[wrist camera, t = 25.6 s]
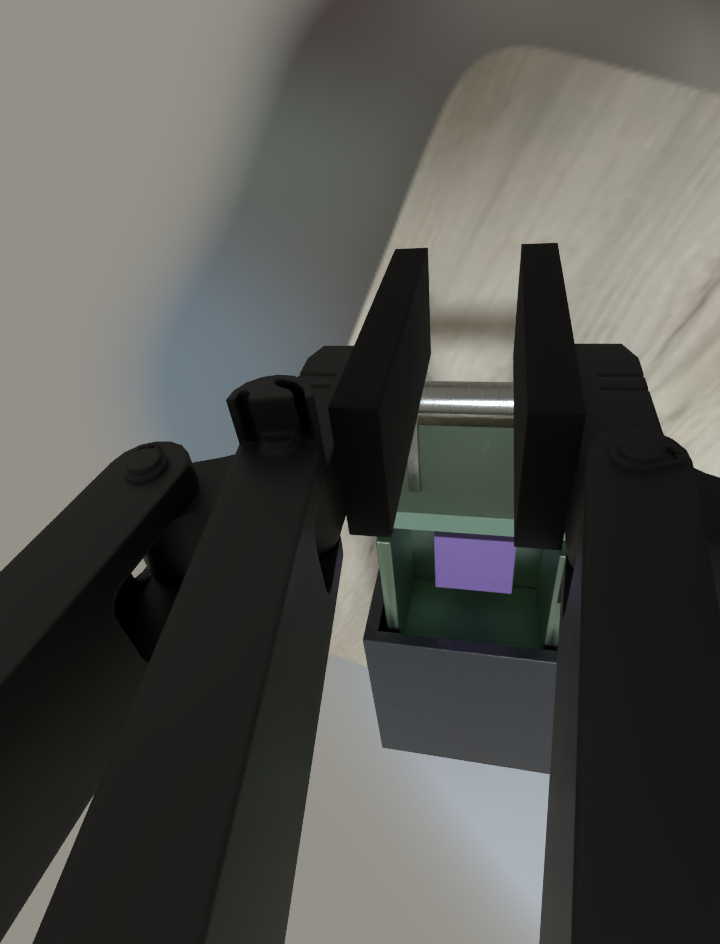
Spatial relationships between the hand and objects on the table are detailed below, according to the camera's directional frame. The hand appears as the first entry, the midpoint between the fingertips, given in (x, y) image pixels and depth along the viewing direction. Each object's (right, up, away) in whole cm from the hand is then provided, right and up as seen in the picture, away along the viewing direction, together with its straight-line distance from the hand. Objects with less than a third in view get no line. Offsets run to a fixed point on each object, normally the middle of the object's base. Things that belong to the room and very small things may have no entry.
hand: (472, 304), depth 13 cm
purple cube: (+5, -6, +21) cm, 23 cm away
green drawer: (+5, -4, +21) cm, 22 cm away
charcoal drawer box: (+6, -14, +31) cm, 34 cm away
